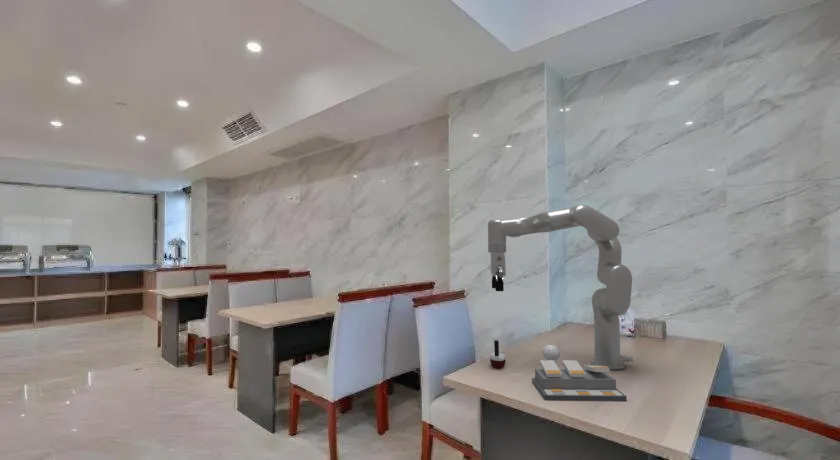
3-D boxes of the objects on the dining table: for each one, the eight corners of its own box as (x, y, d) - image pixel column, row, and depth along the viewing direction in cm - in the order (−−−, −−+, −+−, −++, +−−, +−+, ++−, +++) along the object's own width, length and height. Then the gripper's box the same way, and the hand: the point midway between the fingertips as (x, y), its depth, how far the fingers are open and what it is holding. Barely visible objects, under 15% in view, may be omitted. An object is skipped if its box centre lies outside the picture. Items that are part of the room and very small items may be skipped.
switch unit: (604, 382, 138) (604, 368, 139) (626, 401, 122) (626, 385, 123) (532, 382, 139) (531, 368, 140) (544, 400, 123) (544, 384, 124)
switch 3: (598, 369, 137) (598, 364, 138) (609, 372, 129) (609, 367, 129) (584, 368, 137) (584, 364, 138) (594, 371, 129) (594, 367, 129)
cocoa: (495, 364, 161) (495, 335, 162) (509, 366, 157) (508, 337, 158) (484, 369, 154) (484, 338, 155) (499, 372, 150) (498, 340, 151)
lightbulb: (559, 371, 151) (559, 343, 151) (560, 376, 145) (559, 347, 145) (543, 369, 153) (542, 341, 153) (542, 374, 147) (542, 346, 147)
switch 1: (553, 363, 138) (553, 359, 138) (561, 377, 129) (562, 373, 129) (539, 363, 138) (539, 359, 138) (546, 377, 129) (547, 373, 129)
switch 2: (576, 363, 138) (576, 360, 137) (585, 377, 129) (586, 373, 129) (562, 363, 138) (562, 359, 138) (570, 377, 129) (571, 373, 129)
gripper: (510, 249, 152) (510, 292, 152) (502, 248, 170) (502, 287, 169) (491, 249, 153) (491, 292, 152) (485, 248, 170) (485, 287, 169)
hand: (497, 289), depth 161 cm, fingers open, 9 cm apart
